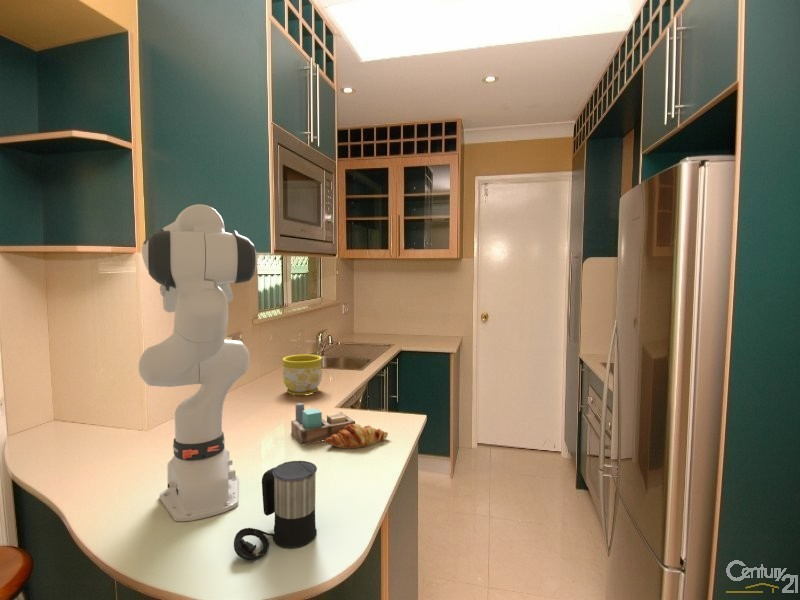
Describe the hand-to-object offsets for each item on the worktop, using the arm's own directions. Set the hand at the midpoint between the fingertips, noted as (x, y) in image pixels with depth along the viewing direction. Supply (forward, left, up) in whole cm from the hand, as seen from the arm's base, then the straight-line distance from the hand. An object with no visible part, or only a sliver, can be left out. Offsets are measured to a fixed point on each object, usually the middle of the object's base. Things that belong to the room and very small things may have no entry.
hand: (202, 321), depth 139 cm
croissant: (-21, -44, -41) cm, 64 cm away
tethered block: (-2, -33, -41) cm, 52 cm away
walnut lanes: (-7, -37, -41) cm, 56 cm away
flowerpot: (+48, -48, -41) cm, 80 cm away
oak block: (-8, -41, -41) cm, 59 cm away
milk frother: (-61, -6, -41) cm, 74 cm away
